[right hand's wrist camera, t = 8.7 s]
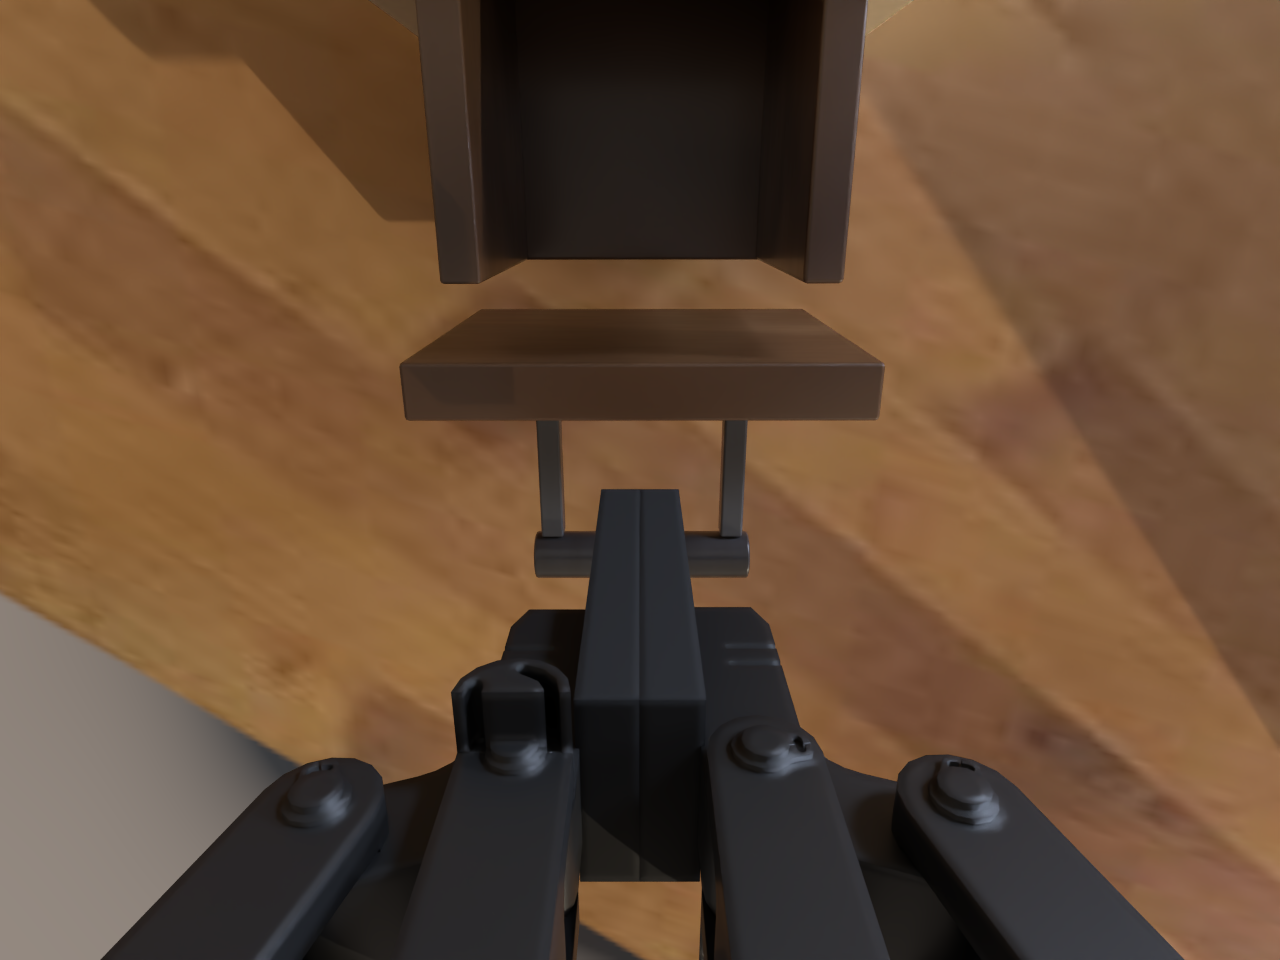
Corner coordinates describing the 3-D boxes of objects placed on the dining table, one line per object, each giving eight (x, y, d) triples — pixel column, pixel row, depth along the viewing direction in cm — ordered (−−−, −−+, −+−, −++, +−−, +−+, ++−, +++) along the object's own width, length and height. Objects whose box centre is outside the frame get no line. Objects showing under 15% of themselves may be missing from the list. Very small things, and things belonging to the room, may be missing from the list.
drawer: (788, 522, 25) (853, 663, 17) (495, 522, 25) (431, 662, 17) (857, -425, 17) (1032, -931, 9) (426, -423, 17) (252, -928, 9)
